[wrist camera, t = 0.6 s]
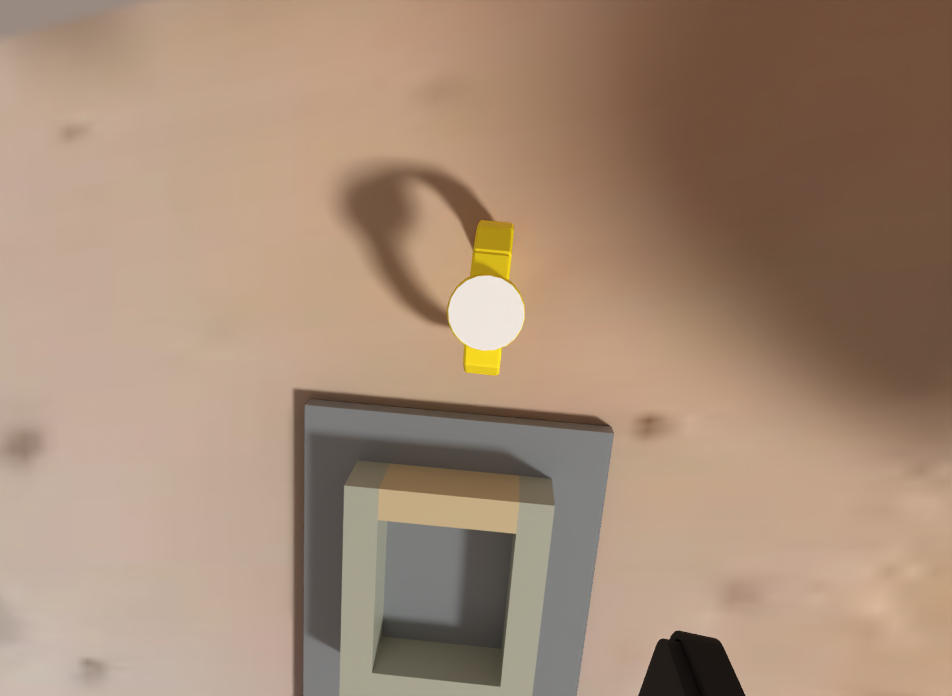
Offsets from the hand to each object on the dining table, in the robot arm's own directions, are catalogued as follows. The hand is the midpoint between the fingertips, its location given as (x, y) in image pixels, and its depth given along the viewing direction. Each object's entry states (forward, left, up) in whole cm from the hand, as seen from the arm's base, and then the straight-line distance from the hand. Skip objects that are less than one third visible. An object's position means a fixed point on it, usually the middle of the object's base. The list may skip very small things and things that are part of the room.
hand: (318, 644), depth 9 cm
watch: (-2, -1, -21) cm, 21 cm away
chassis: (-1, +15, -21) cm, 26 cm away
